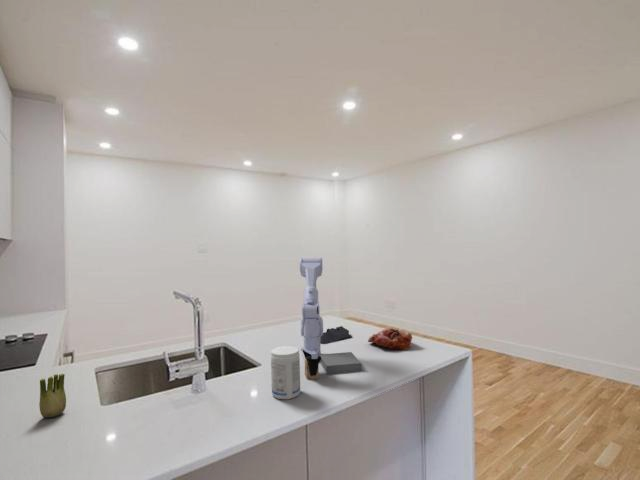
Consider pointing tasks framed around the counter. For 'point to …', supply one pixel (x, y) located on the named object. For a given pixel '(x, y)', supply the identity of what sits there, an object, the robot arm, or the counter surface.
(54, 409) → the fennel bulb
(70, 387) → the counter surface
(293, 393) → the supplement tub
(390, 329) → the meat
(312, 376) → the oak block
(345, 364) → the slate base
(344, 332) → the dark slate chunk
